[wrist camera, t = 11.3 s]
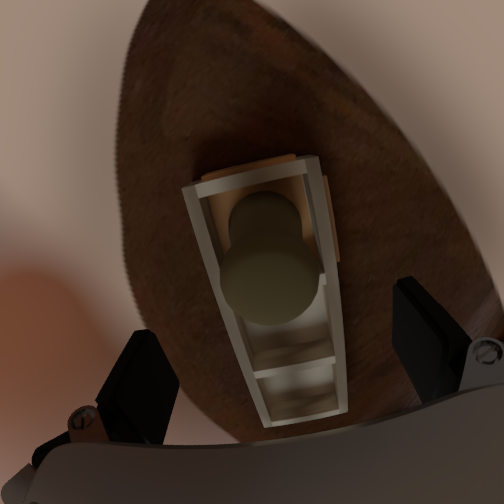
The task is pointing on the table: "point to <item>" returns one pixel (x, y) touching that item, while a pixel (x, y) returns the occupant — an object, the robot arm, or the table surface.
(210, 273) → the spice rack
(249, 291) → the cork
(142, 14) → the table surface
